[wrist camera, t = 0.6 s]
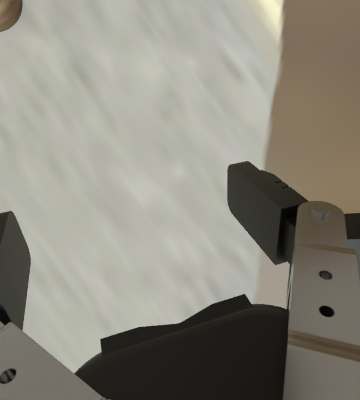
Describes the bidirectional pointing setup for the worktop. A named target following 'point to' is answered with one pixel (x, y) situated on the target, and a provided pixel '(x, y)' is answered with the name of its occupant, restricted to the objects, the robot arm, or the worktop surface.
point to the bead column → (9, 13)
